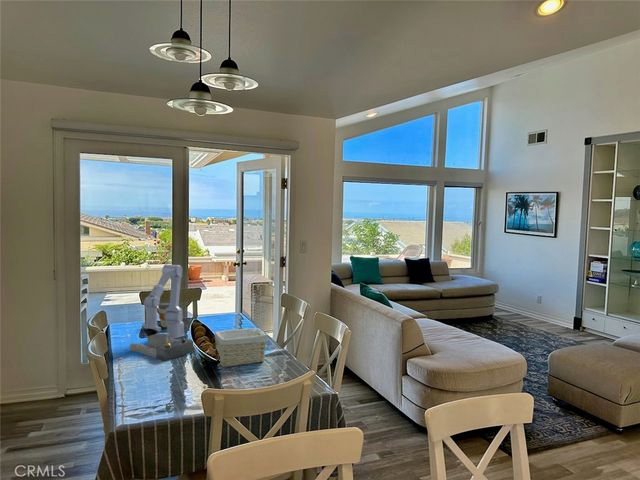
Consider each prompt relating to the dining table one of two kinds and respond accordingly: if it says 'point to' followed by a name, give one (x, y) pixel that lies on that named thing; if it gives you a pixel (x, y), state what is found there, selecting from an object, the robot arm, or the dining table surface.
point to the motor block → (165, 349)
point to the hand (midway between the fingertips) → (151, 342)
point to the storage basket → (240, 346)
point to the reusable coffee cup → (163, 312)
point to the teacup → (158, 340)
